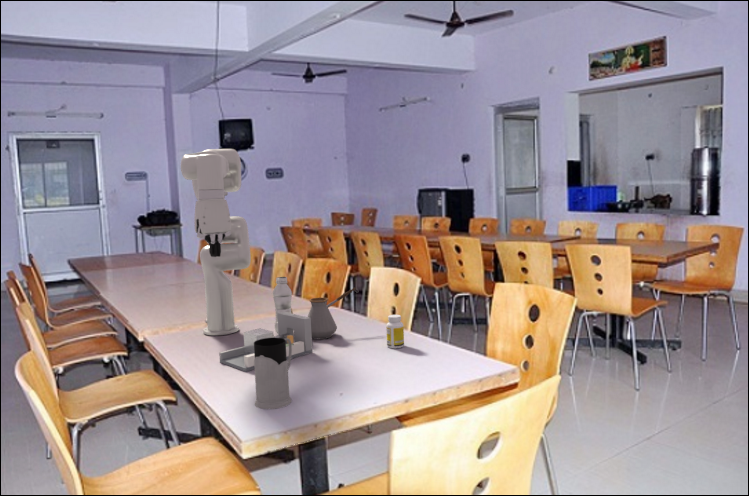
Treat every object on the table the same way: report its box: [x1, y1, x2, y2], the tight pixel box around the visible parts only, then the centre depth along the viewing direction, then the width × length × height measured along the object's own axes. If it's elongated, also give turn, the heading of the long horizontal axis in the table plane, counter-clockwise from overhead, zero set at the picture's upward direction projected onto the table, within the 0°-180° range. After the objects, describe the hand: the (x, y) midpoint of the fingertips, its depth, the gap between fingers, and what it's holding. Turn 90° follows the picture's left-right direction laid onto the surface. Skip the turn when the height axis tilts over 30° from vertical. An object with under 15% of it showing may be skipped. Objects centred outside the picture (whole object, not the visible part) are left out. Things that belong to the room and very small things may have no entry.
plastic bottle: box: [272, 276, 294, 335], centre depth 208 cm, size 6×7×20 cm
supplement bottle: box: [385, 314, 405, 349], centre depth 189 cm, size 5×5×10 cm
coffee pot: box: [307, 287, 359, 340], centre depth 207 cm, size 21×12×15 cm, turn 124°
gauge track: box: [218, 312, 313, 373], centre depth 182 cm, size 14×24×11 cm, turn 134°
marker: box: [287, 335, 294, 343], centre depth 181 cm, size 1×1×2 cm
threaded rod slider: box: [242, 327, 290, 355], centre depth 182 cm, size 11×14×7 cm
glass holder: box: [254, 338, 293, 410], centre depth 147 cm, size 9×14×15 cm, turn 159°
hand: (215, 256), depth 182 cm, fingers closed
